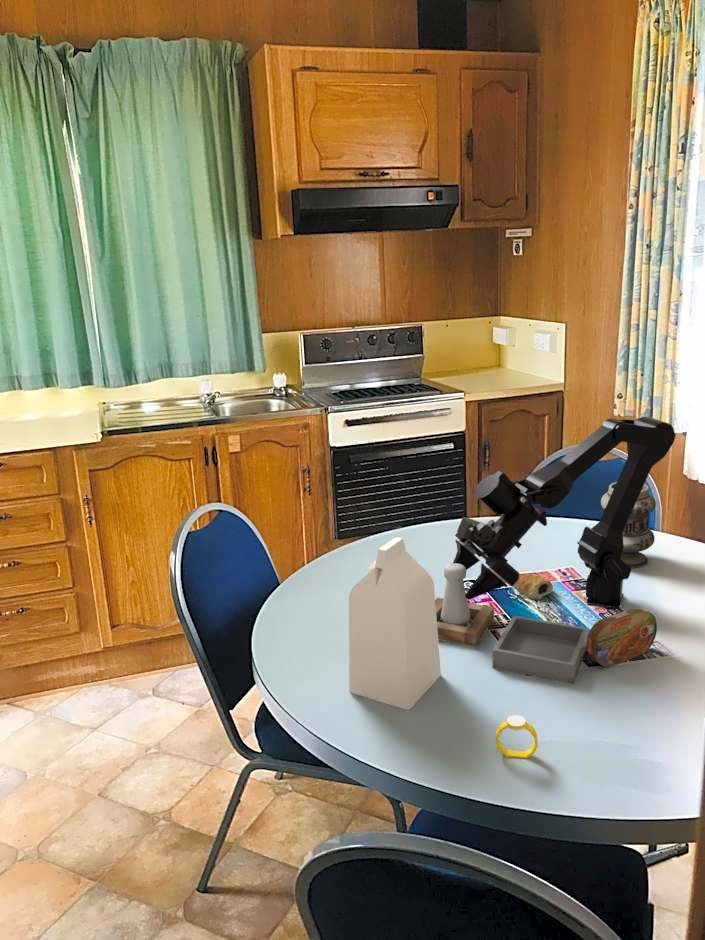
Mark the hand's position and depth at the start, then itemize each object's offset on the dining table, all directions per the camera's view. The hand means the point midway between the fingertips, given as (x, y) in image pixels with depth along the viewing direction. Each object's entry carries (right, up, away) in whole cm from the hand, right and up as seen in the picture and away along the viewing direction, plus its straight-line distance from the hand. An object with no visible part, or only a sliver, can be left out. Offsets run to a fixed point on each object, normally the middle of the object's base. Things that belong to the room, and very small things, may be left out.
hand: (457, 588), depth 149 cm
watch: (+4, -19, -36) cm, 41 cm away
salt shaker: (0, -8, +2) cm, 8 cm away
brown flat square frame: (0, -8, +2) cm, 8 cm away
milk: (-13, -14, -16) cm, 25 cm away
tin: (+28, -11, -11) cm, 32 cm away
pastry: (+18, -3, +16) cm, 25 cm away
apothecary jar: (+43, +2, +29) cm, 52 cm away
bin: (+14, -11, -10) cm, 20 cm away
